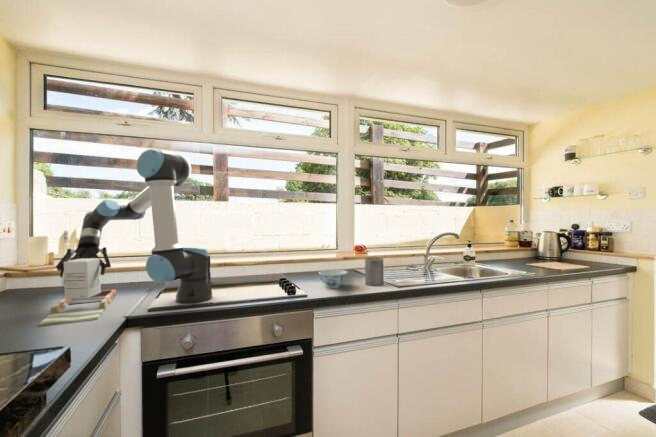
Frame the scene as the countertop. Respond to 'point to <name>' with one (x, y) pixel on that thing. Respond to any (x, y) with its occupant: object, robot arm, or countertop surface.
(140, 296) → the countertop surface
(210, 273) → the storage jar
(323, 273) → the chinaware
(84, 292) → the supplement box
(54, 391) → the countertop surface
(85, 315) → the track
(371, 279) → the pillar candle
